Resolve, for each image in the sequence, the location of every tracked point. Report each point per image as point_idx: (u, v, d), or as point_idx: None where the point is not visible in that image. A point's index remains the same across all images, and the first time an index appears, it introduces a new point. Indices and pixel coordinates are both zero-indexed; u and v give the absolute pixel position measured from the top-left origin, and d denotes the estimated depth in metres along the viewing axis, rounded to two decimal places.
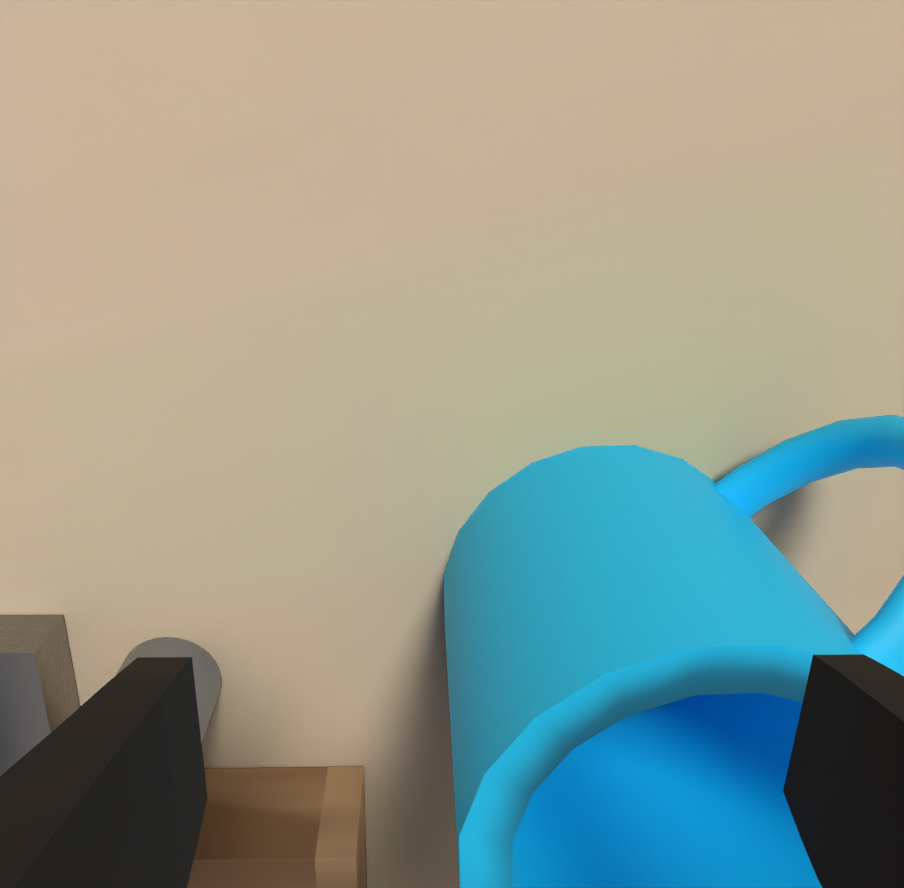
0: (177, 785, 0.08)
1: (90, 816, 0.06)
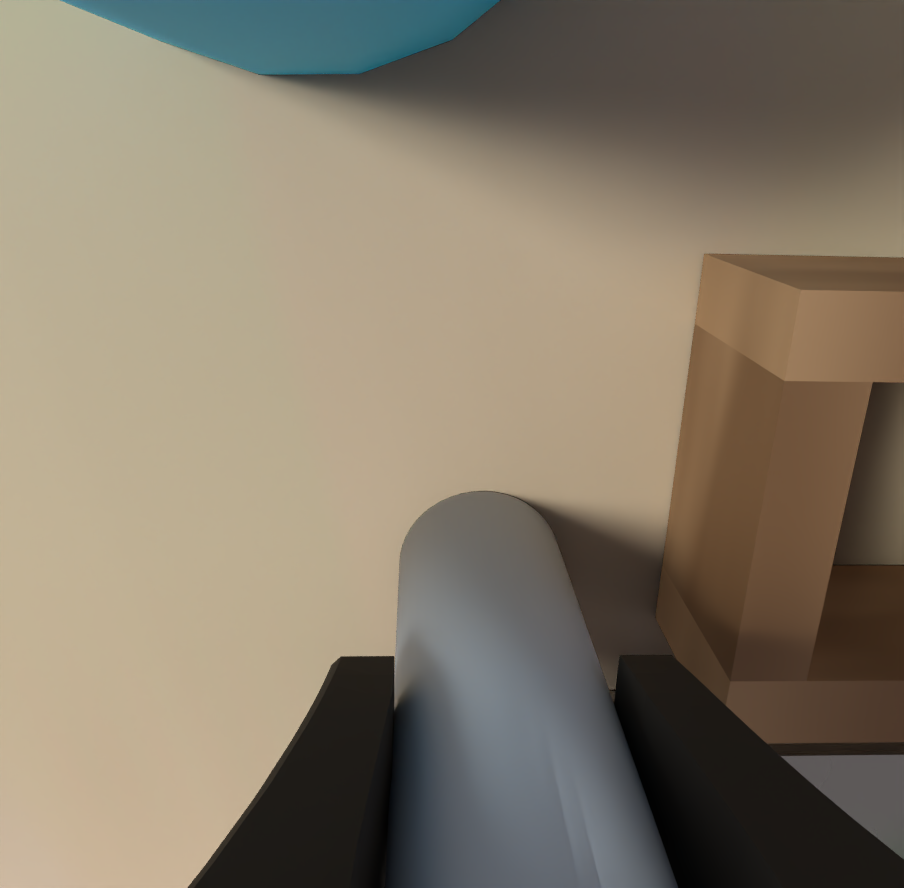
0: None
1: (369, 813, 0.06)
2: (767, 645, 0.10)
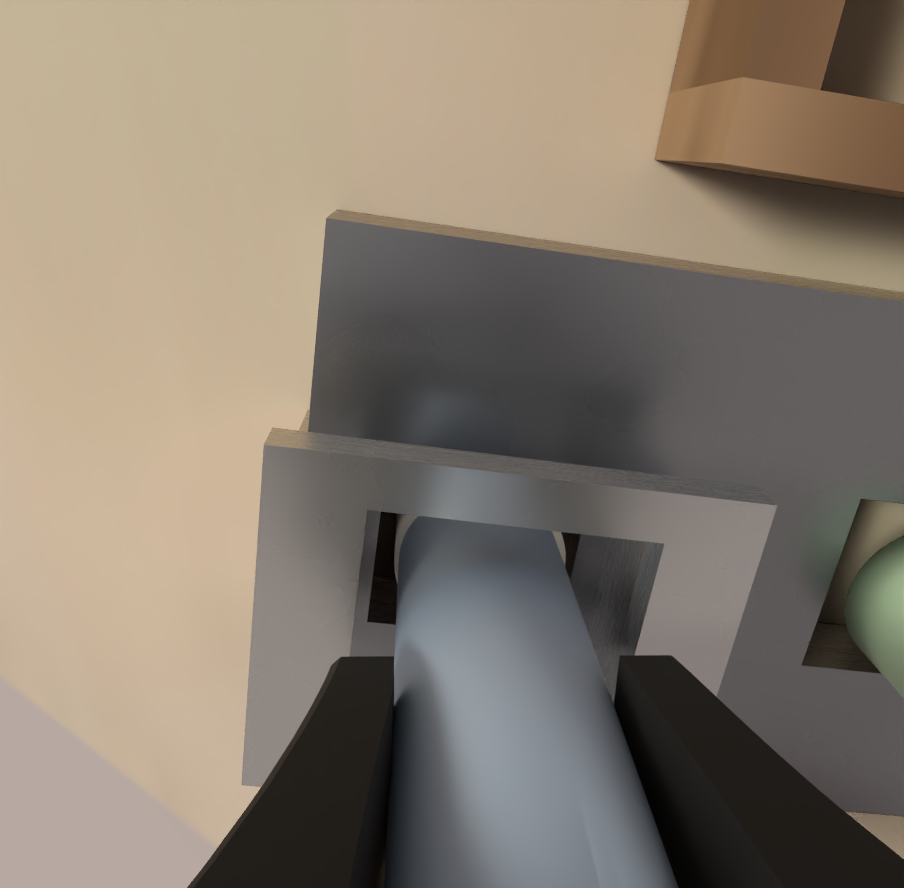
0: None
1: (369, 813, 0.06)
2: (786, 32, 0.09)
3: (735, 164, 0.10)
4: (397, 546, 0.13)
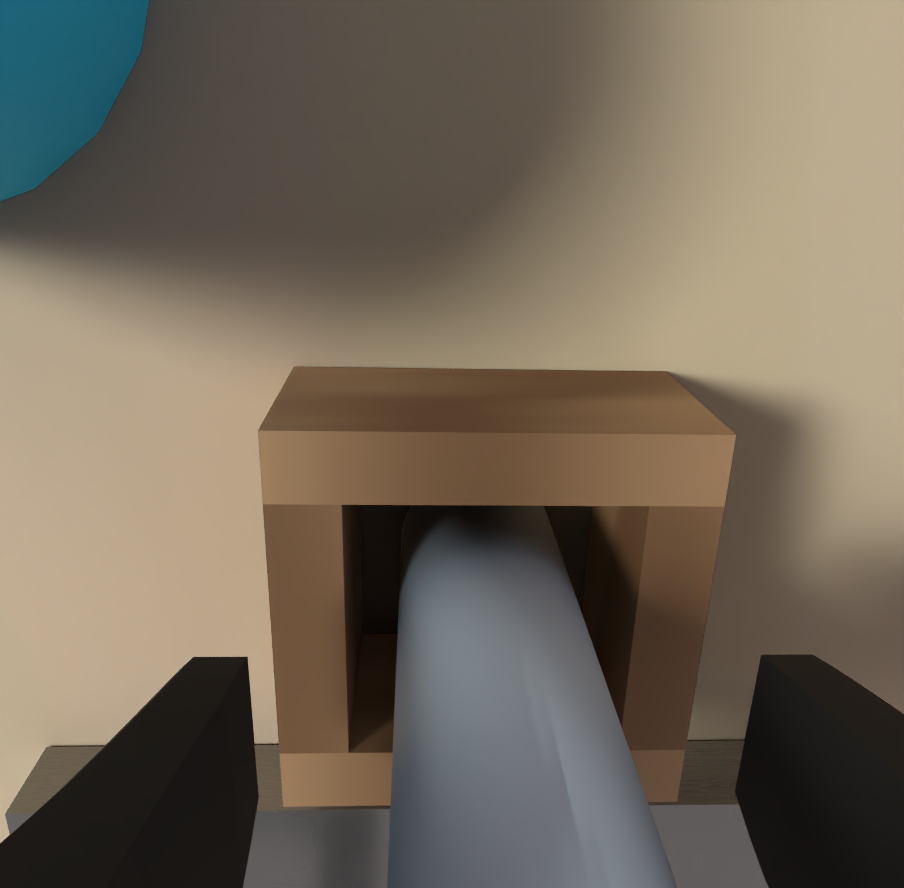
0: (235, 784, 0.08)
1: (166, 816, 0.06)
2: (305, 723, 0.11)
3: None
4: None
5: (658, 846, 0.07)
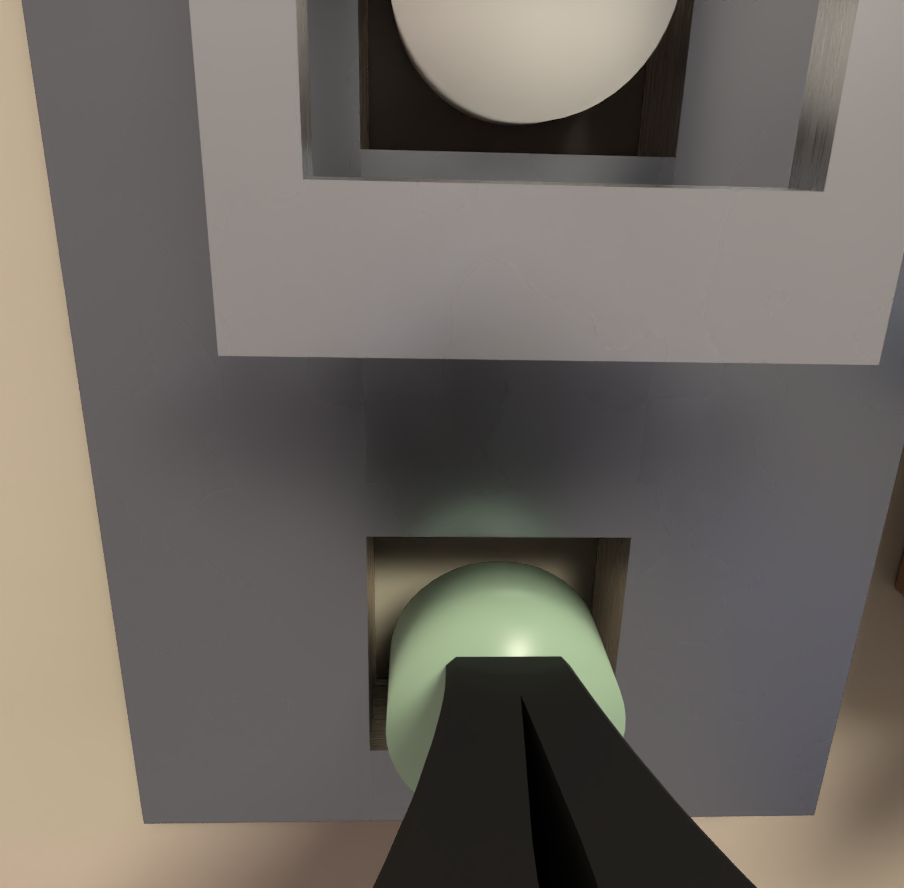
0: None
1: (525, 812, 0.06)
2: None
3: None
4: None
5: None
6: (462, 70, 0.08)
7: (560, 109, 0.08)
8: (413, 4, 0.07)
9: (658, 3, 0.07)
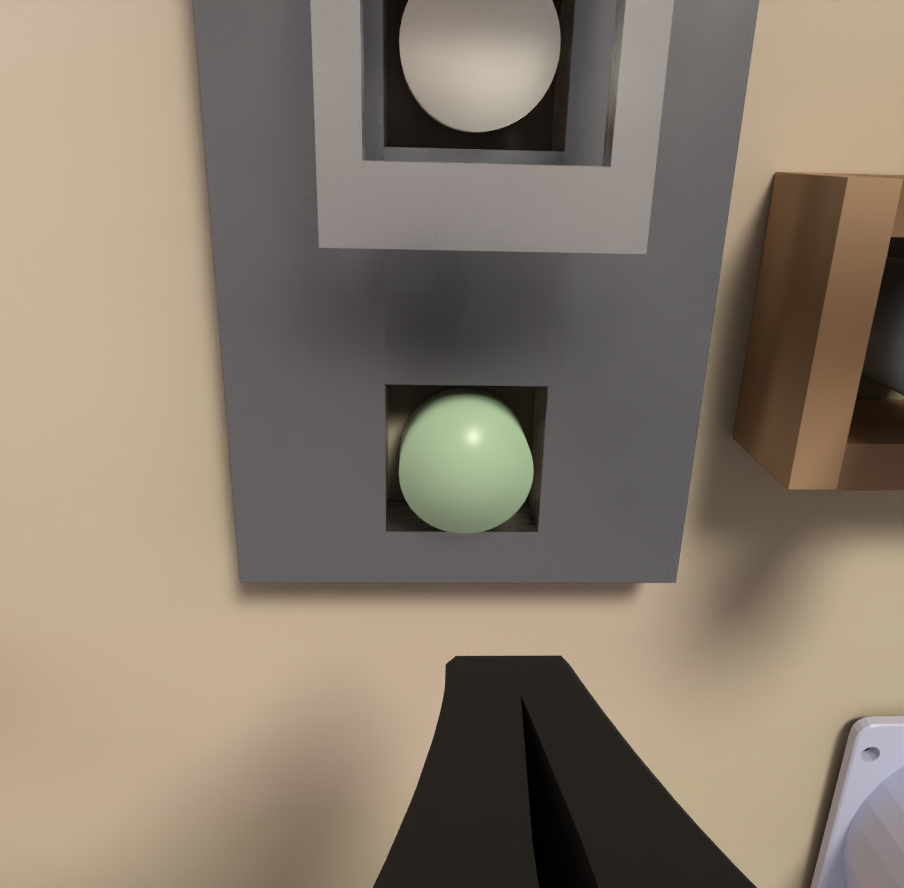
0: None
1: (526, 811, 0.06)
2: None
3: (847, 187, 0.14)
4: None
5: None
6: (440, 103, 0.14)
7: (495, 124, 0.14)
8: (414, 68, 0.14)
9: (547, 67, 0.14)
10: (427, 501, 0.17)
